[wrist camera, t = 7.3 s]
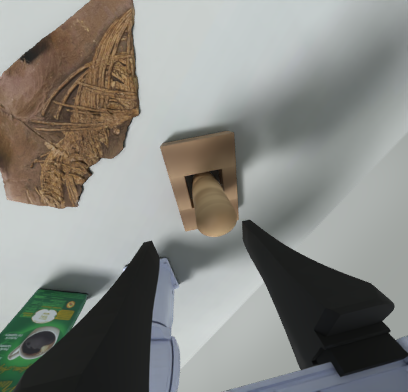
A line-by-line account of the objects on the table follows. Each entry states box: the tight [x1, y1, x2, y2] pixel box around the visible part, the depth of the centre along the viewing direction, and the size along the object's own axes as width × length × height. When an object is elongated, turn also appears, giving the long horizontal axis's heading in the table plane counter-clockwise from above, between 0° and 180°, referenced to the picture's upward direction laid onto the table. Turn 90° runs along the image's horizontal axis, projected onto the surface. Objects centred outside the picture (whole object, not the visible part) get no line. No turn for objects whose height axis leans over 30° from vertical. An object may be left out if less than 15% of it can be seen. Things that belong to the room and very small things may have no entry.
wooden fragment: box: [0, 0, 139, 209], centre depth 15 cm, size 26×11×1 cm, turn 134°
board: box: [160, 131, 239, 231], centre depth 19 cm, size 12×8×2 cm, turn 9°
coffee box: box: [0, 289, 88, 392], centre depth 22 cm, size 8×3×13 cm, turn 63°
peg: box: [192, 172, 237, 237], centre depth 16 cm, size 4×4×9 cm
